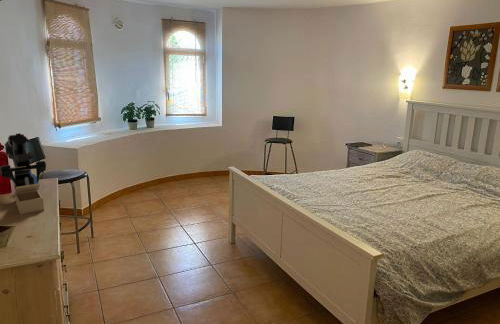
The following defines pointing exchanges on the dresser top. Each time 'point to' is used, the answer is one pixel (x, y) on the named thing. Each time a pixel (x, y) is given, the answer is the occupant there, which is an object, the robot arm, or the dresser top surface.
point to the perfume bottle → (34, 177)
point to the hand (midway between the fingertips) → (27, 183)
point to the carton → (29, 202)
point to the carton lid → (27, 187)
